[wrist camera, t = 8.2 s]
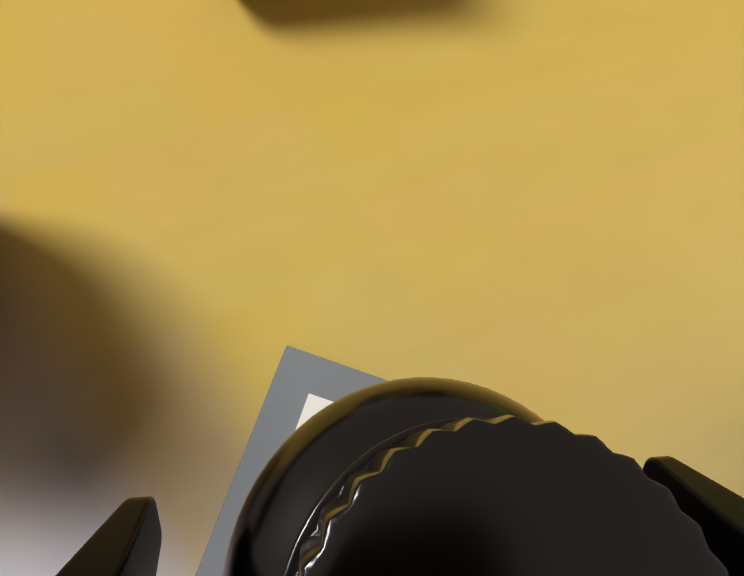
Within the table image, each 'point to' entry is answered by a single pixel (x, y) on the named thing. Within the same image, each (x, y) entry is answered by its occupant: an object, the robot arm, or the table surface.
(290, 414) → the grey mat
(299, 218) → the table surface
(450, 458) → the supplement bottle
